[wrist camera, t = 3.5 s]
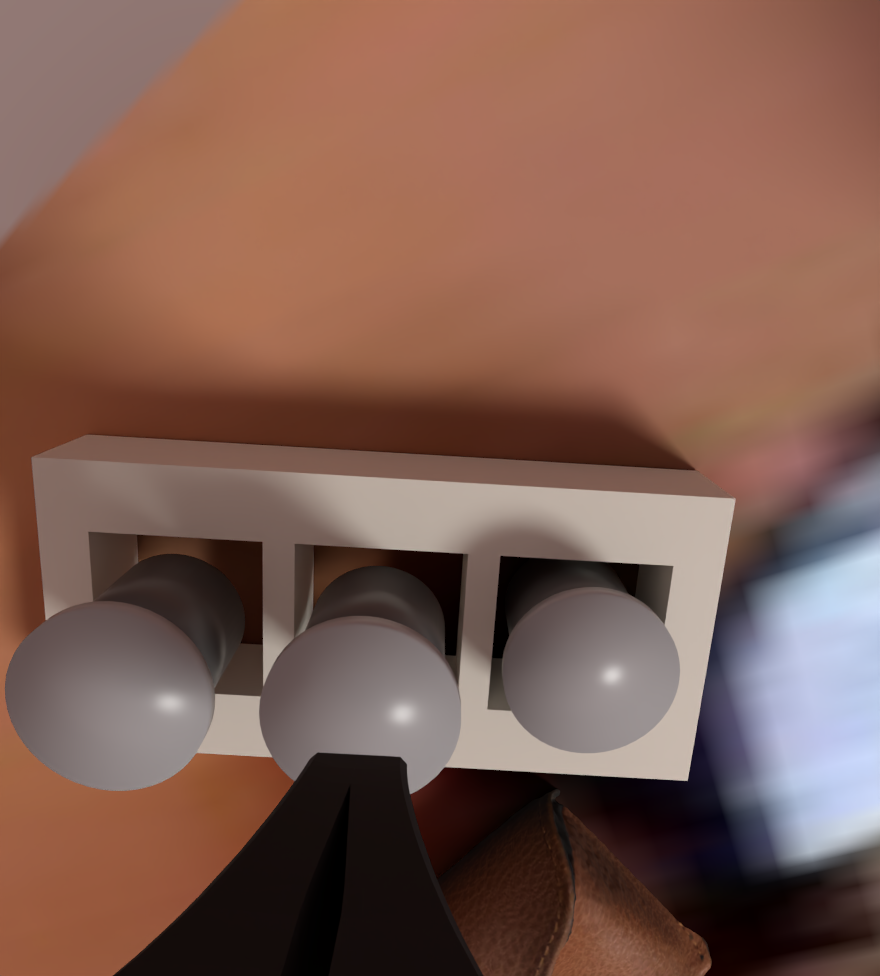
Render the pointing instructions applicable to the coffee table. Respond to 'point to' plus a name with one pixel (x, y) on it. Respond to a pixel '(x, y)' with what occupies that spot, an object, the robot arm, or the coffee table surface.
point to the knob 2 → (584, 657)
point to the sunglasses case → (562, 905)
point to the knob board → (399, 526)
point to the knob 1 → (127, 675)
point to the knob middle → (366, 679)
